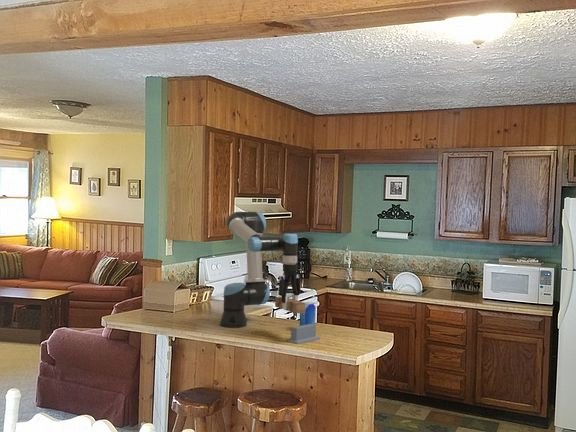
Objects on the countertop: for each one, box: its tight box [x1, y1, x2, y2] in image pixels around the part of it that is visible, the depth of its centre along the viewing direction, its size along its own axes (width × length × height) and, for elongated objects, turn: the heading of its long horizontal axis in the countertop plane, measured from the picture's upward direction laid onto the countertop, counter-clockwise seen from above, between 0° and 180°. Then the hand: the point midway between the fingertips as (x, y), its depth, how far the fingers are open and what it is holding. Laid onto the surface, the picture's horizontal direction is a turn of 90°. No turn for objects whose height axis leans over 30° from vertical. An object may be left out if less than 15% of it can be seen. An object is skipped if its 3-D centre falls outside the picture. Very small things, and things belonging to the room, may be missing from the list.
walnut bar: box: [274, 296, 305, 314], centre depth 305 cm, size 24×5×5 cm, turn 27°
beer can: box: [299, 301, 316, 326], centre depth 322 cm, size 8×8×16 cm
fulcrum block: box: [286, 324, 321, 345], centre depth 304 cm, size 8×16×7 cm, turn 134°
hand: (289, 308), depth 305 cm, fingers closed on walnut bar, 6 cm apart
